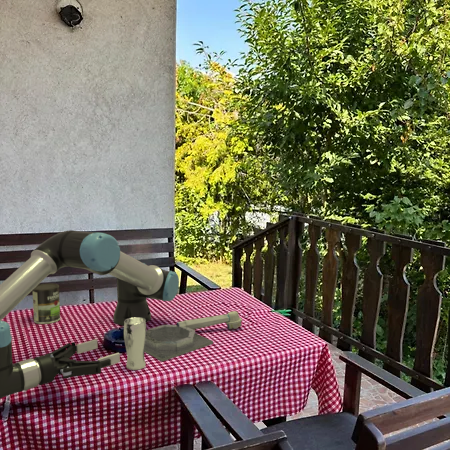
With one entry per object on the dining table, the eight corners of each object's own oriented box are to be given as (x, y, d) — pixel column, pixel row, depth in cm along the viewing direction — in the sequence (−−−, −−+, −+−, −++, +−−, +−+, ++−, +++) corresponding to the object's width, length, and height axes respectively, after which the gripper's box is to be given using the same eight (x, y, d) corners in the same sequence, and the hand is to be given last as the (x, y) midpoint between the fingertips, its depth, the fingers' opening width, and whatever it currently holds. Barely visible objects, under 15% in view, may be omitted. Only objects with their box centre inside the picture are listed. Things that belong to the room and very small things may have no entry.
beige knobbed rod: (175, 320, 173) (238, 306, 179) (178, 336, 174) (240, 322, 180) (177, 324, 168) (241, 310, 174) (180, 341, 169) (244, 327, 175)
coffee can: (66, 317, 189) (64, 284, 187) (48, 325, 179) (46, 291, 177) (46, 314, 193) (45, 282, 191) (27, 322, 183) (26, 288, 181)
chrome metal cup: (128, 372, 140) (127, 325, 138) (122, 363, 146) (121, 318, 144) (149, 368, 143) (149, 322, 141) (143, 359, 149) (142, 315, 147)
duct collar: (126, 341, 164) (126, 332, 163) (175, 327, 178) (175, 318, 178) (162, 361, 148) (162, 351, 147) (213, 343, 162) (213, 334, 162)
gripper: (20, 369, 132) (88, 349, 146) (55, 402, 114) (129, 376, 128) (19, 344, 131) (88, 327, 145) (54, 374, 113) (129, 351, 127)
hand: (107, 350), depth 137 cm, fingers open, 13 cm apart
